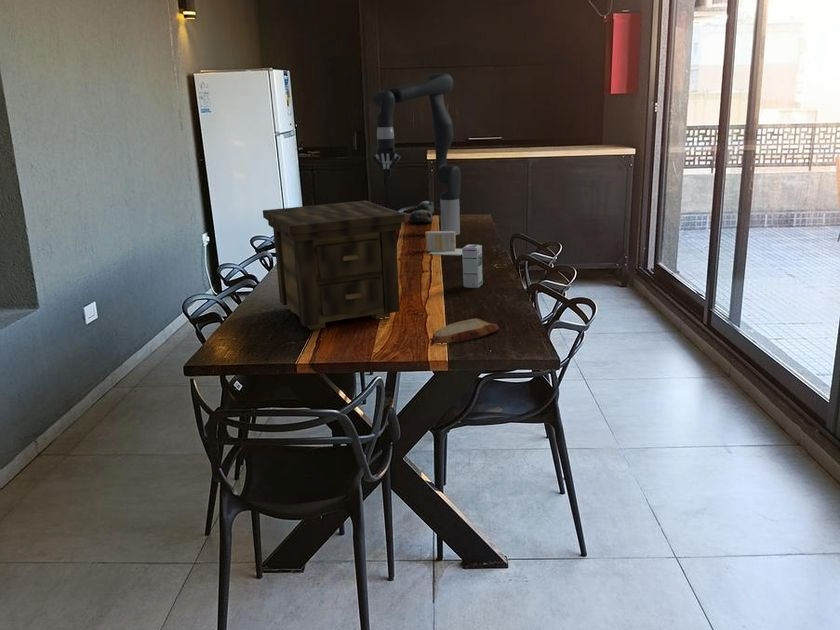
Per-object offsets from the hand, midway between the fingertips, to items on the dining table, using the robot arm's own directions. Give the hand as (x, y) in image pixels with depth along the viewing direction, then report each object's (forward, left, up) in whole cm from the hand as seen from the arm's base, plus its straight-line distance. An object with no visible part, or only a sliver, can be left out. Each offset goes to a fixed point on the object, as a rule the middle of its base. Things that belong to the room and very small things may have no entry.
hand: (387, 177), depth 329 cm
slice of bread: (+123, +61, -32) cm, 140 cm away
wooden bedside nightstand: (+108, +16, -31) cm, 114 cm away
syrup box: (+68, +52, -31) cm, 91 cm away
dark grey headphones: (-59, -1, -31) cm, 67 cm away
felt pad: (+13, +32, -31) cm, 46 cm away
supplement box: (+12, +20, -26) cm, 35 cm away
